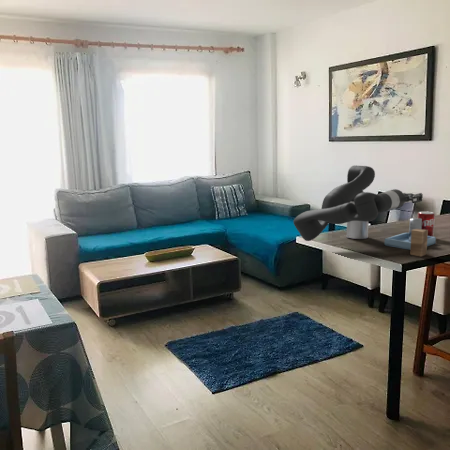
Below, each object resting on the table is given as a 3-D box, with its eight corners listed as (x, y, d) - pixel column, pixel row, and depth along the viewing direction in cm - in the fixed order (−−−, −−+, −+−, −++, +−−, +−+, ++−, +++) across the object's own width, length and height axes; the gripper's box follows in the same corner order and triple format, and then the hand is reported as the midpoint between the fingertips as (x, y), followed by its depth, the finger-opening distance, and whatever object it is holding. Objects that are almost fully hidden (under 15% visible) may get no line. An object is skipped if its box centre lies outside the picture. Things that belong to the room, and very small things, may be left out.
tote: (414, 250, 208) (415, 243, 207) (384, 245, 218) (384, 238, 218) (435, 243, 220) (435, 237, 219) (405, 238, 230) (405, 232, 229)
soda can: (412, 237, 233) (414, 211, 231) (425, 236, 235) (426, 210, 233) (424, 240, 226) (425, 214, 224) (436, 239, 229) (438, 213, 226)
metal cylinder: (408, 241, 220) (409, 219, 218) (408, 239, 224) (409, 217, 223) (420, 242, 218) (421, 219, 216) (420, 240, 223) (421, 218, 221)
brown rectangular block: (420, 256, 199) (422, 231, 197) (410, 254, 202) (411, 230, 200) (426, 254, 202) (427, 230, 200) (415, 252, 205) (417, 228, 203)
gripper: (373, 208, 198) (394, 202, 208) (407, 212, 187) (427, 205, 198) (373, 189, 196) (395, 184, 207) (407, 192, 186) (428, 186, 196)
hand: (411, 194), depth 202 cm, fingers open, 8 cm apart
